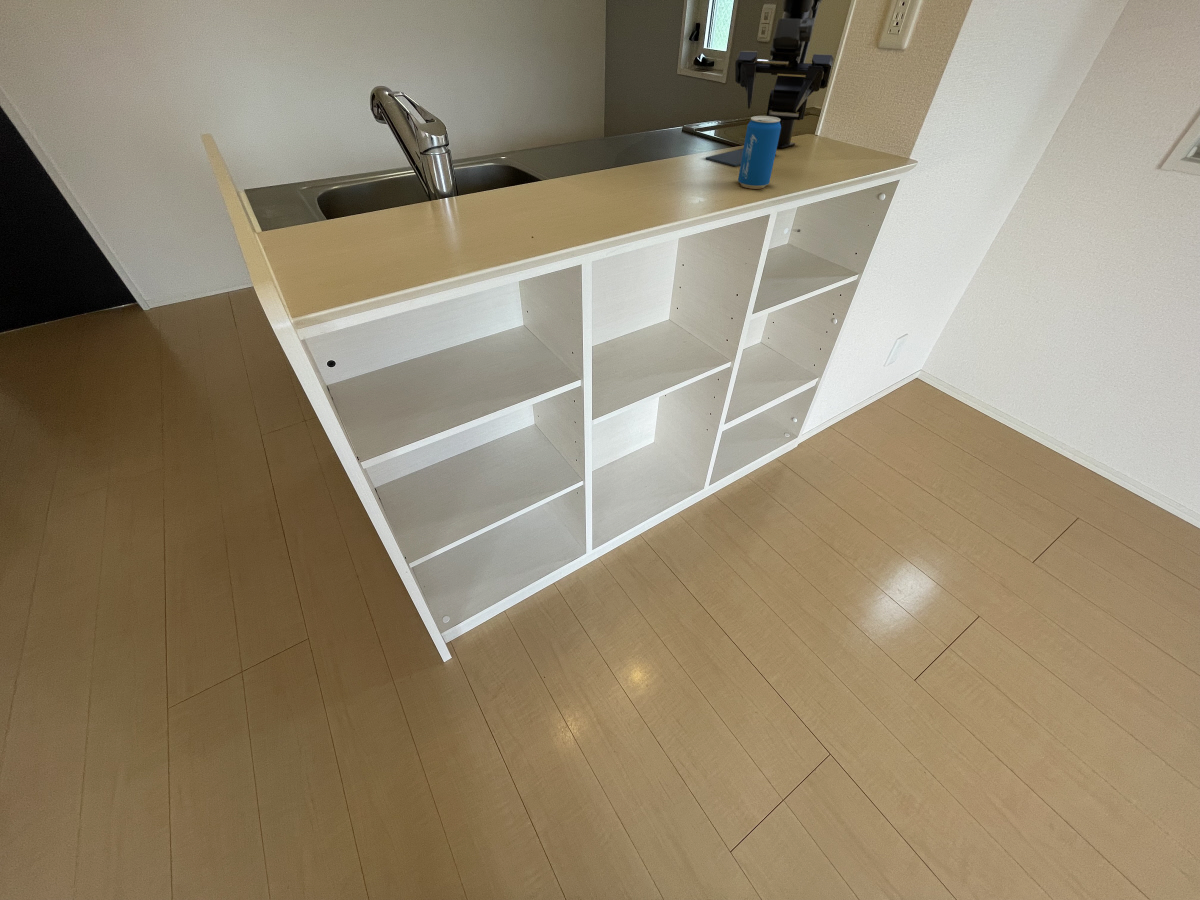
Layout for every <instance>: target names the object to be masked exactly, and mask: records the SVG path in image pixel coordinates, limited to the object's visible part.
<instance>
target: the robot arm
mask: <svg viewBox="0 0 1200 900" xmlns="http://www.w3.org/2000/svg"><path fill="white" fill-rule="evenodd" d="M823 1H824V0H782V11H783V14H782V17H781V18H779V19H778V20H776V21H777V22H776V26H775V30H774V34H773V39H772V43H771V47H770V52H769V53H770V54H769V55H770V59H761V58H760V59H759V51H757V50H756V51H755V50H741V51H739V52H737V55H736V58H735V61H734V62H735V63H734V65H735V67H734V69H735V71H734V72H735V73H734V76H735V77H734V79H735V80H734V81H735V83H737V84H738V85H739V84H740V87H742V88H744V90H745V93H746V101H747V109H751V106H752V104H753V98H754V92H755V86H756V77H757V74H770V75H771V76H777V77H776V79H775V83H774V86H773V88H771V90H770V93H769V97H768V103H767V109H766V116H772V117H777V118H780V125H781V130H780V135H779V140H778V144H777V149H785V148H789V147H794V146H796V143H795V142H792V137H793V132H794V128H795V123H796V121H801V120H804V118H805V114H806V111H807V110H806V109H807V104H808V99H809V97H810V96H811V95H812V94H813V93H814V92H815V93H816V92H819V91H820V90H821V89H822V90H823V89H826V88H827V87H828V85H829V81H830V77H831V73H832V70H833V69H832V68H833V64H834V60H835V57H834V56H833V54H831V53H830V54H829V53H827V54H826V53H813V54H812V57H811V58H812V59H811V62H810V63H806V60H807V56H808V52H809V49H810V44H811V40H812V36H813V32H814V28H815V25H816V21H817V16H818V13H819V9H820V5H821V3H822V2H823Z"/></svg>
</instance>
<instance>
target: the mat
mask: <svg viewBox="0 0 1200 900" xmlns="http://www.w3.org/2000/svg"><path fill="white" fill-rule="evenodd" d="M743 149H744V147H743V148H740V149H735V150H731V151H727V152H723V153H718V154H714V155H710V156H706V157H705V160H708V161H712V162H715V163H720V164H723V165H725V166H726V165H727V166H731V167H733V168H734V167H740V166H741V160H742V154H743ZM775 157H777V153H776V154H775Z"/></svg>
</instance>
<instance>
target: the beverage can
mask: <svg viewBox="0 0 1200 900" xmlns="http://www.w3.org/2000/svg"><path fill="white" fill-rule="evenodd" d="M780 130H781V125H780V118H777V117H772V116H767V115H756V116H755V115H754V116H751V117H750V121H749V122H748V123H747V127H746V131H745V138H744V144H743V148H744V149H743V148H742V149H743V154H742V160H741V165H739V172H738V178H737V182H738V183H739V184H740V186H741V187H743V188H746V189H751V190H759V189H764V188H765V187H766V186H767V185H769V184H770V182H771V177H772V174H773V173H772V172H773V167H774V163H775V158H776V156H775V154H776V155H777V149H778V148H777V144H778V140H779V135H780Z"/></svg>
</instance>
